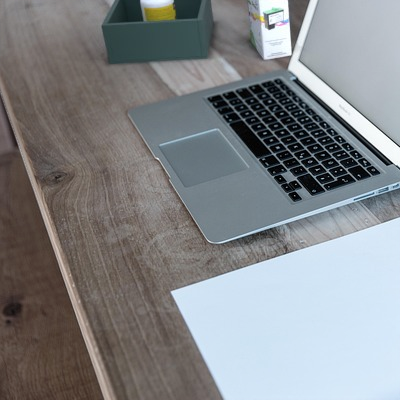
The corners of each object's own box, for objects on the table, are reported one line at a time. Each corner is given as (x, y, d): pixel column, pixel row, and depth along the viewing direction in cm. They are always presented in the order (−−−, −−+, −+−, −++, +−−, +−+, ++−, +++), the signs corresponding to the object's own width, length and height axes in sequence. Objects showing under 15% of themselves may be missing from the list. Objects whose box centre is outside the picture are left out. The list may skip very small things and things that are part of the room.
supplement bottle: (185, 41, 119) (176, -17, 114) (155, 49, 117) (144, -10, 111) (171, 31, 123) (162, -25, 117) (142, 39, 120) (131, -19, 115)
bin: (109, 65, 114) (101, 25, 110) (126, 28, 126) (118, -8, 123) (207, 59, 114) (202, 19, 110) (213, 23, 127) (209, -13, 123)
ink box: (249, 42, 119) (242, -29, 113) (278, 37, 121) (272, -33, 114) (263, 61, 113) (256, -13, 106) (293, 56, 114) (288, -18, 107)
